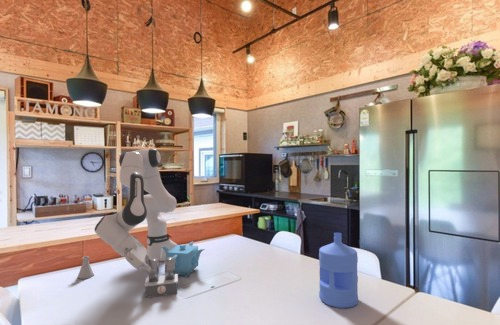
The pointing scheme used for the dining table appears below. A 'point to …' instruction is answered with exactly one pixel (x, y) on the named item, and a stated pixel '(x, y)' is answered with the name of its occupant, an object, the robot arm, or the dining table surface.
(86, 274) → the flask
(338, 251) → the water jug
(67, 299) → the dining table surface
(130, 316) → the dining table surface
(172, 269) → the cylinder
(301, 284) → the dining table surface
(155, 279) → the ball
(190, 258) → the teakettle
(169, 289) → the scale
